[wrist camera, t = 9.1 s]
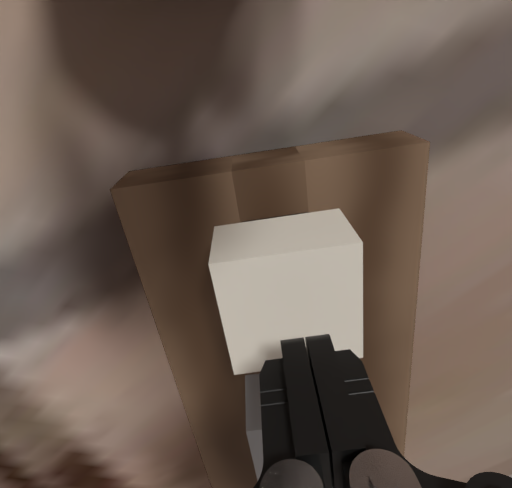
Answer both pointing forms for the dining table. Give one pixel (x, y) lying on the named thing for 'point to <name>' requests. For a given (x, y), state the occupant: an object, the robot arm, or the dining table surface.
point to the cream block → (287, 284)
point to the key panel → (265, 206)
